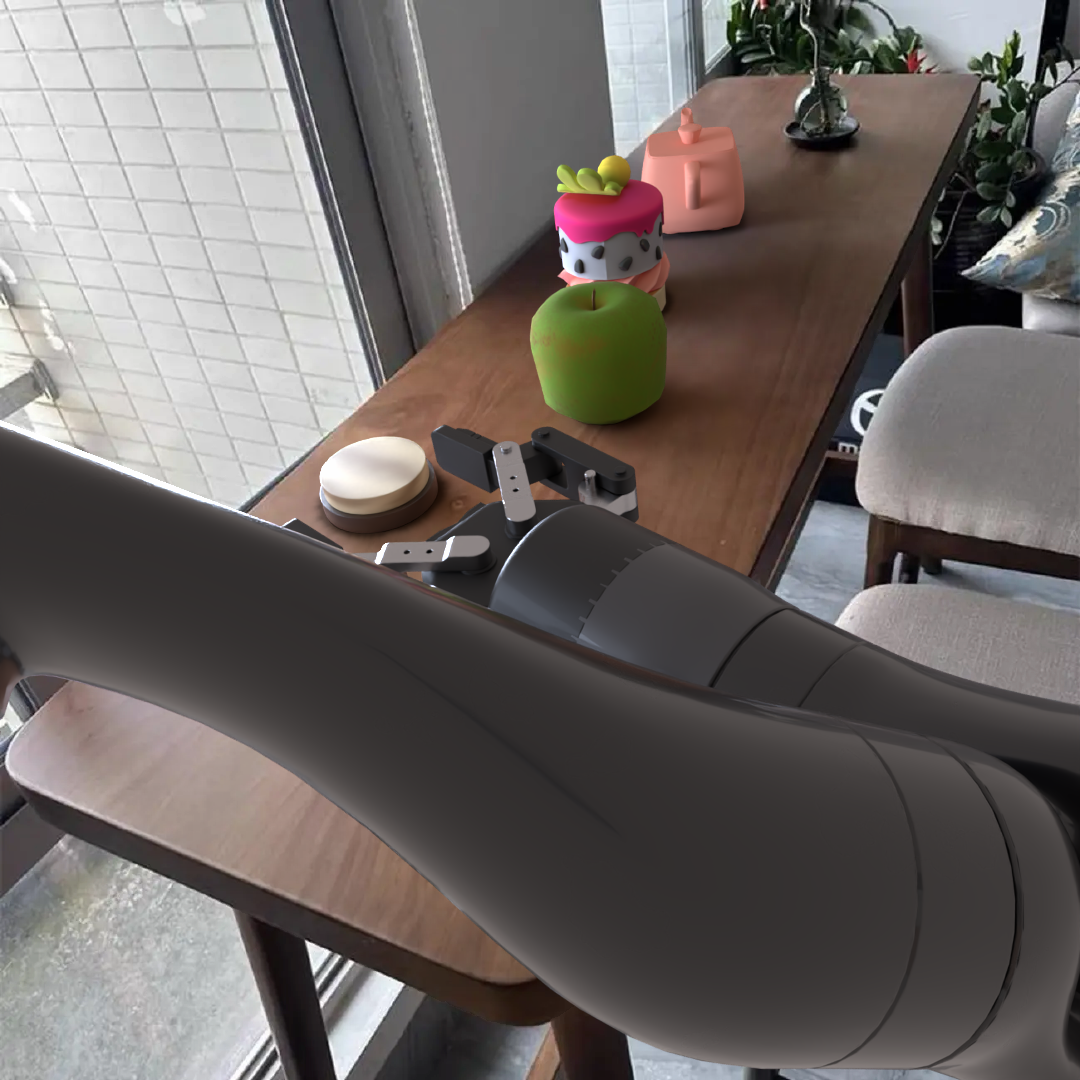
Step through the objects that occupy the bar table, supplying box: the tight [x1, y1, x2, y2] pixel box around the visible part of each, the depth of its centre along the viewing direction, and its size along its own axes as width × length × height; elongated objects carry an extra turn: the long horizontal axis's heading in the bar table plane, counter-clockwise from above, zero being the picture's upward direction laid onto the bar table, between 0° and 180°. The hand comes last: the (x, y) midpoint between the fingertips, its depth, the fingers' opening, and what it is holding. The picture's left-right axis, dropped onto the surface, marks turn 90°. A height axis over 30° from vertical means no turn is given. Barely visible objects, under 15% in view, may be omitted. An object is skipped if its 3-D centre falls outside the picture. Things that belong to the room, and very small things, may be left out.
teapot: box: [640, 107, 745, 235], centre depth 112 cm, size 12×18×10 cm, turn 176°
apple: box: [529, 281, 668, 426], centre depth 84 cm, size 11×11×11 cm
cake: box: [553, 154, 671, 312], centre depth 96 cm, size 10×11×15 cm
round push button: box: [319, 436, 439, 534], centre depth 80 cm, size 9×9×3 cm
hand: (368, 489), depth 46 cm, fingers open, 8 cm apart
